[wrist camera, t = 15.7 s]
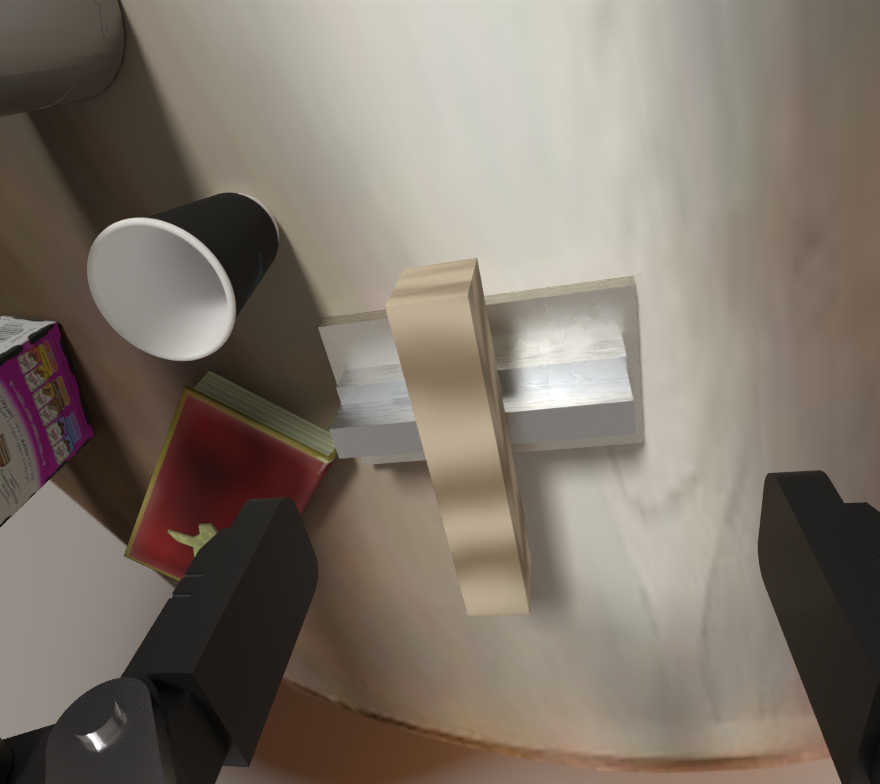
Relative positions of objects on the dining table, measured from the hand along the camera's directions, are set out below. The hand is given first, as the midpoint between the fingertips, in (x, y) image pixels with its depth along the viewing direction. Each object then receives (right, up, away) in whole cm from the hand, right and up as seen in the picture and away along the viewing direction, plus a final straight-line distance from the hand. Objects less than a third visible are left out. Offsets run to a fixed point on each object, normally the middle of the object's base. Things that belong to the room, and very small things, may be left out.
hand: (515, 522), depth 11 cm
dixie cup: (-14, +13, +31) cm, 37 cm away
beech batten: (+1, 0, +28) cm, 28 cm away
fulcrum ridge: (+2, +4, +34) cm, 34 cm away
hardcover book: (-19, -5, +44) cm, 48 cm away
